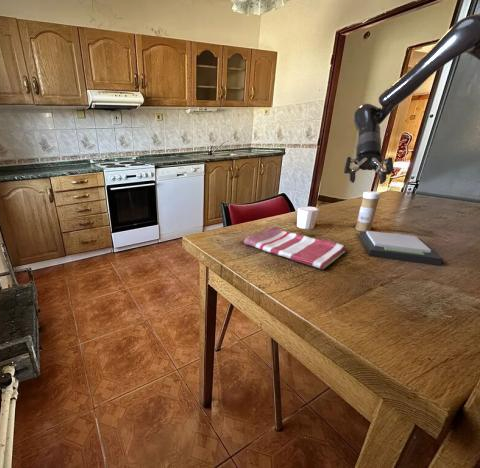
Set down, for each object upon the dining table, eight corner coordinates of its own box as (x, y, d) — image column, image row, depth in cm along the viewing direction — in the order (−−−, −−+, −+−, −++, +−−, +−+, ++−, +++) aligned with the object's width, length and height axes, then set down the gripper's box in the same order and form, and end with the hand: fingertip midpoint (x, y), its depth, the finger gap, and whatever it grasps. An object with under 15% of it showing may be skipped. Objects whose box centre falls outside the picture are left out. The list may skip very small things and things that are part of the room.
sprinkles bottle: (373, 230, 89) (384, 192, 84) (365, 233, 87) (375, 194, 83) (359, 227, 93) (369, 190, 88) (351, 229, 91) (360, 191, 86)
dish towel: (270, 232, 91) (271, 224, 90) (345, 252, 74) (348, 243, 73) (242, 245, 81) (243, 237, 80) (322, 272, 64) (324, 262, 63)
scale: (418, 244, 78) (421, 235, 77) (440, 265, 65) (444, 256, 64) (358, 237, 84) (360, 229, 83) (368, 256, 72) (371, 246, 71)
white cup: (320, 228, 93) (324, 209, 90) (304, 230, 91) (308, 211, 89) (305, 222, 99) (308, 205, 97) (291, 224, 97) (293, 207, 95)
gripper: (348, 140, 98) (346, 175, 93) (396, 139, 92) (396, 176, 87) (343, 153, 104) (341, 186, 99) (387, 153, 98) (387, 189, 93)
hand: (367, 182), depth 93 cm, fingers open, 8 cm apart
